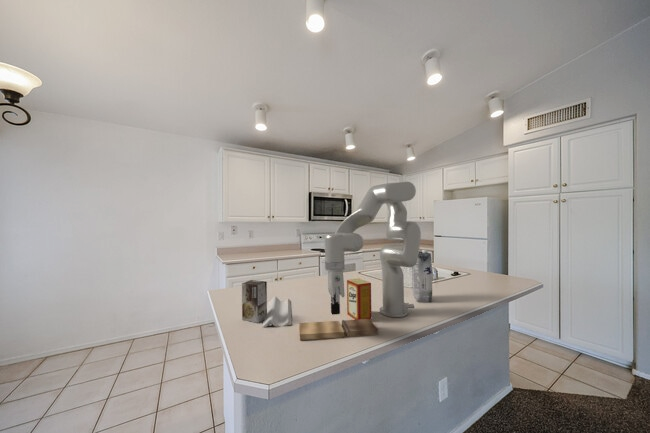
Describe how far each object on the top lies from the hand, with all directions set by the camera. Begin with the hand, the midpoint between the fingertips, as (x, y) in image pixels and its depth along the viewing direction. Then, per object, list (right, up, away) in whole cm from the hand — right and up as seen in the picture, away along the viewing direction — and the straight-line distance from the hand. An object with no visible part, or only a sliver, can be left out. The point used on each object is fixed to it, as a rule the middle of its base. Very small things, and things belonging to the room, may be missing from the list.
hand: (335, 313), depth 92 cm
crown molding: (-26, -9, +20) cm, 34 cm away
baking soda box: (+11, -8, +14) cm, 20 cm away
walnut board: (+9, -7, +1) cm, 12 cm away
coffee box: (-35, -8, +13) cm, 38 cm away
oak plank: (-6, -7, -1) cm, 9 cm away
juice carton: (+48, -8, +37) cm, 61 cm away
